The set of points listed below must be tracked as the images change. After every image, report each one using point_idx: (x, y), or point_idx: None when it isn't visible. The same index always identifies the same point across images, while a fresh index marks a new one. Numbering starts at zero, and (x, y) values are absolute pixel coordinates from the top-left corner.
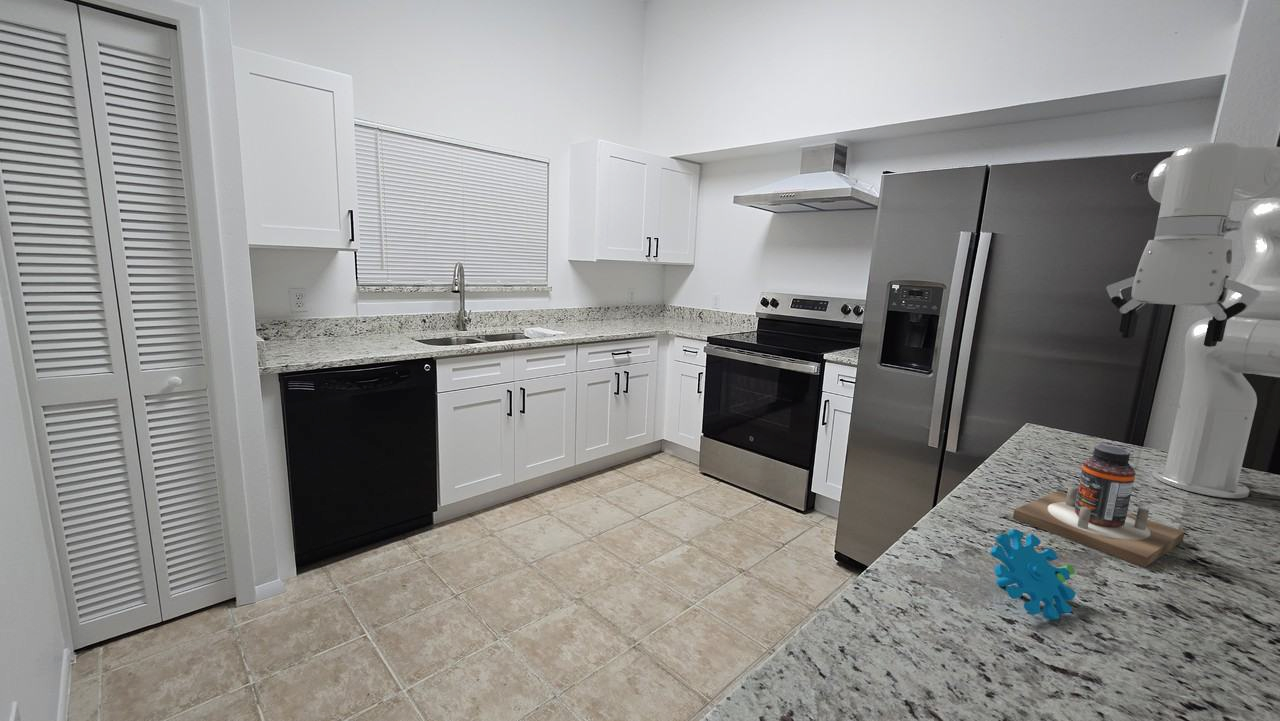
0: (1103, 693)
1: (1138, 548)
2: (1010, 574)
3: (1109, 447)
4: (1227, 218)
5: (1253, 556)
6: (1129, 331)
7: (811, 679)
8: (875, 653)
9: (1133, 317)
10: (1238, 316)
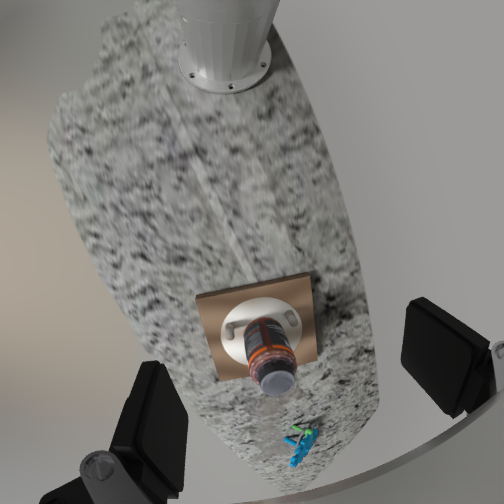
0: (343, 443)
1: (307, 352)
2: (302, 458)
3: (273, 382)
4: None
5: (345, 242)
6: (184, 429)
7: (292, 490)
8: (293, 480)
9: (172, 470)
10: None
